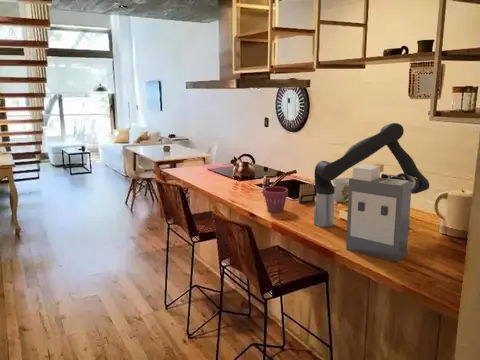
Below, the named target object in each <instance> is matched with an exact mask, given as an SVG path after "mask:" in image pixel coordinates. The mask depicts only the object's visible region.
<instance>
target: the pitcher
mask: <svg viewBox="0 0 480 360" xmlns="http://www.w3.org/2000/svg"><path fill="white" fill-rule="evenodd" d="M350 178H351V177H344V178H343V177H342V178H341V177H340V178H335V179H334V180H332V185H333V186H334V188H335V194H334V202H336V203H345V202H346V203H347V202H348V190H349V179H350Z"/></svg>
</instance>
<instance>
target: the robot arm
mask: <svg viewBox="0 0 480 360" xmlns="http://www.w3.org/2000/svg"><path fill="white" fill-rule="evenodd" d="M404 130H405V129H404V127H403V126H402V124H400V123H396V122H393V123H389V124H387V125H384V126H383V127H381V129H380V131H379V132H378V133H376V134H374V135H372V136H369V137H366V138H364V139H361V140H359V141H358V142H356V143H355V144H353V145H352V146H350V147H349V148H348V149H347V150H346V151H345V153H344V155H342V156H341V157H340V158H338V159H336V160H334V161H331V162H330V161H327V160H321V161H319V162H317V164H316V165H315V168H314V188H315V189H316V190H315V191H316V193H315V205H314V208H313V209H314V211H313V225H316V226H317V227H322V228H323V227H324V228H330V227H333V226H334V224H335V223H334V221H335V218H334V217H335V200H334V194H335V188H334V186H333V182H332V181H333V180H334V179H338V177H339V176H341V175H342V174H343V173H345V172H346V171H348V170H349V169H350V168H353V167H355V165H357V164H359V163H361V162H363V161H364V160H366V159H368V158H369V157H370V156H372V155H374V154H375V153H377V152H378V151H380V149H383V148H384V147H385V146H387V148H388V149H389V151H390V152H391V154H393V156H394V157H395V159H396V161H397V163H398V165H399V166H400V168H401V170H402V173H398V174H397V175H395V174H386V173H382V174H380V178H390V179H398V180H406V181H410V182H412V188H411V195H415V194H419V193H422V192H425V191H427V190H429V189H430V183H429V180H428V179H427V178H426V177H425V176H424V175H423V174H422V173H421V171H420V170H419V169H418V167H417V165H416V162H415V161H414V159H413V158H412V157H411V155H410V154H409V153H407V152H406V150H404V148H403V147H402V146H401V144H400V142H399V141H398V140H400V139H401V138H402V137H403V135H404Z"/></svg>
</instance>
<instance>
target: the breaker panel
mask: <svg viewBox="0 0 480 360" xmlns="http://www.w3.org/2000/svg"><path fill="white" fill-rule="evenodd" d="M349 178H350V179H349V190H348V200H347V216H346V217H347V219H346V221H347V222H346V226H347V227H346V240H345V241H346V244H345V248H346V249H345V250H348V251H351V252H355V253H360V254H364V255H367V256H372V257H376V258H379V259H384V260H388V261H390V262H391V261H392V262H395V263H399V262H400V261H401V260H402V259H404V258H405V257H406V256H407V254H408V240H409V226H410V213H411V212H410V211H411V197H412V193H411V188H412V182H410V181H406V180H398V179H390V178H381V177H380V178H378V179H376V180H373V181H371V182H370V181H363V180H355V179H353V177H349Z"/></svg>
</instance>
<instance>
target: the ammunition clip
mask: <svg viewBox="0 0 480 360" xmlns="http://www.w3.org/2000/svg"><path fill="white" fill-rule="evenodd" d="M313 202H314V203H316V193H315V182H312V183H310V184H309V182H308V183H305V184H304V183H303V184H300V186H299V195H298V203H299V204H308V203H313Z"/></svg>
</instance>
